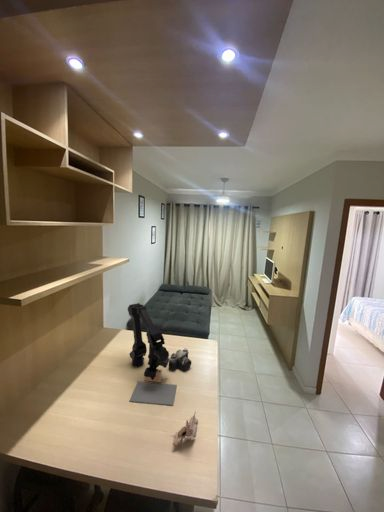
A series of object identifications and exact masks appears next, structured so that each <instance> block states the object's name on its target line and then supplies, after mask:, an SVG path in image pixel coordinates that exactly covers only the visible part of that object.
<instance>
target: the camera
mask: <svg viewBox="0 0 384 512" xmlns="http://www.w3.org/2000/svg"><path fill="white" fill-rule="evenodd" d="M191 366H192V360H191V359H190V358H189V350H188V348H187V347H185V348H183V349H178V350H176V352H175V353H174V352H173V353H171V355H170V356H169V362H168V371H171V372H173V371H175V370H177V369H182V370H185V371H188V370H189V369H190V368H191Z"/></svg>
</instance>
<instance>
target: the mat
mask: <svg viewBox="0 0 384 512" xmlns="http://www.w3.org/2000/svg"><path fill="white" fill-rule="evenodd" d="M177 388H178V387H177V384H171V383H170V384H169V383H161V382H151V381H137V382H136V385H135V387H134V388H133V391H132V393H131V396H130V398H129V403H138V404H148V405H149V404H150V405H159V406H168V407H169V406H172V407H174V402H175V396H176V392H177Z"/></svg>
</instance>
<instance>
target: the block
mask: <svg viewBox="0 0 384 512" xmlns="http://www.w3.org/2000/svg"><path fill="white" fill-rule="evenodd" d="M162 371H163V369H158V371H157V374H156V377H154V380H152V379H151V377H145V376H144V382H154V383H161V382H162Z"/></svg>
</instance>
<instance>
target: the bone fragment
mask: <svg viewBox="0 0 384 512" xmlns="http://www.w3.org/2000/svg"><path fill="white" fill-rule="evenodd" d="M196 413H197V412H196V411H195V412H194V414H193V416H191V417H190V420H188V419H186V422H185V426H182V427H181V428H180V430H179V431H176V433H175V434H174V438H173V442H172V446H173V447H177V446H179V445H183V443H184V442H183V439H184V438H186V437H188V438H190V440H191V441H193V439H194V438H195V437H196V434H197V433H196V432H197V429H198V427H197V426H198V421H199V420H198V419H197V418H196Z"/></svg>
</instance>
